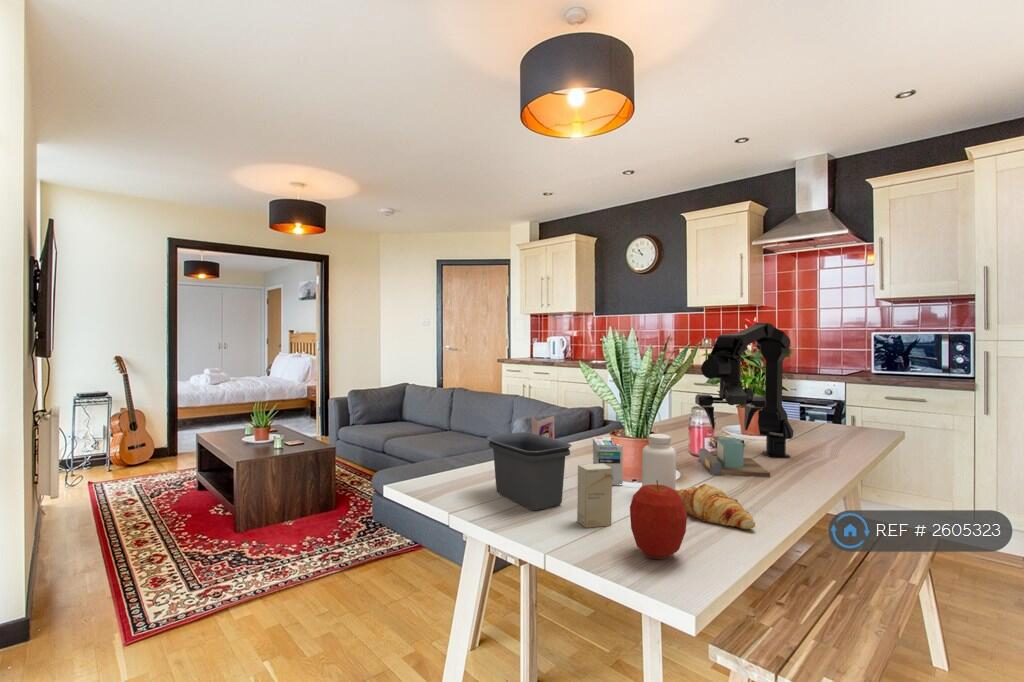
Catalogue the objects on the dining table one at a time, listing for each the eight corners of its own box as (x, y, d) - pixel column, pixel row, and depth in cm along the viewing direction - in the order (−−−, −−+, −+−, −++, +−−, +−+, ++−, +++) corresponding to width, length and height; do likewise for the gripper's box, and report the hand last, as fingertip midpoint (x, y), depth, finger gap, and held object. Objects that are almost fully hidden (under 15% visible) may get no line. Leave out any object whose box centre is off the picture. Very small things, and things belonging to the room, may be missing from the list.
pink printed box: (539, 474, 143) (539, 421, 143) (516, 470, 147) (516, 419, 146) (556, 465, 153) (556, 415, 153) (535, 462, 157) (535, 413, 156)
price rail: (698, 459, 160) (698, 448, 160) (705, 459, 160) (705, 448, 160) (712, 475, 142) (712, 463, 142) (720, 475, 142) (720, 463, 142)
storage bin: (481, 492, 128) (481, 435, 127) (531, 482, 136) (531, 429, 136) (530, 518, 110) (530, 452, 109) (584, 504, 118) (584, 444, 118)
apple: (662, 574, 84) (662, 492, 84) (616, 553, 93) (617, 477, 92) (698, 558, 90) (699, 481, 90) (653, 539, 99) (653, 468, 98)
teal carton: (724, 467, 146) (724, 443, 146) (716, 459, 155) (716, 436, 155) (743, 468, 145) (743, 444, 145) (734, 460, 154) (734, 437, 154)
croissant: (762, 546, 104) (774, 509, 105) (736, 533, 99) (749, 494, 100) (679, 512, 122) (690, 481, 123) (653, 499, 117) (666, 467, 119)
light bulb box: (623, 486, 133) (623, 445, 132) (597, 485, 133) (597, 445, 132) (615, 474, 143) (616, 436, 143) (592, 474, 143) (592, 436, 143)
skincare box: (585, 528, 104) (585, 470, 104) (576, 520, 108) (576, 464, 108) (612, 525, 106) (613, 467, 105) (603, 517, 110) (603, 462, 110)
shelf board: (706, 460, 159) (706, 456, 159) (750, 461, 157) (750, 457, 157) (721, 475, 142) (721, 471, 142) (770, 477, 140) (770, 473, 140)
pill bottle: (678, 502, 120) (678, 439, 120) (643, 500, 121) (643, 438, 121) (673, 491, 128) (673, 432, 127) (640, 490, 129) (640, 431, 129)
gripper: (703, 379, 143) (702, 434, 143) (773, 380, 140) (772, 436, 140) (695, 375, 154) (694, 426, 154) (760, 376, 151) (759, 428, 151)
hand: (729, 429), depth 150 cm, fingers open, 9 cm apart
